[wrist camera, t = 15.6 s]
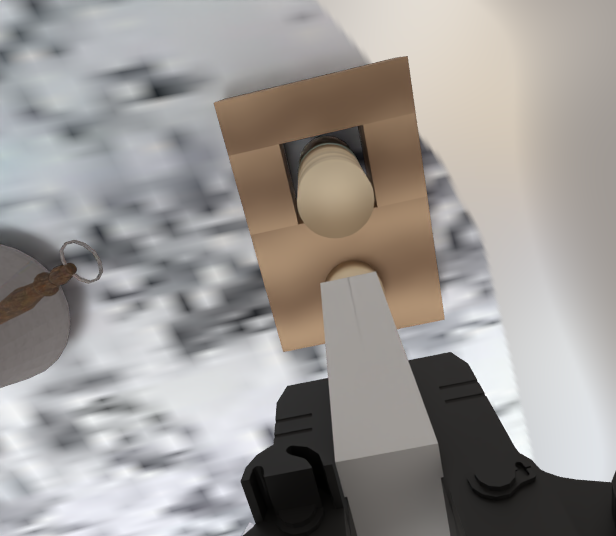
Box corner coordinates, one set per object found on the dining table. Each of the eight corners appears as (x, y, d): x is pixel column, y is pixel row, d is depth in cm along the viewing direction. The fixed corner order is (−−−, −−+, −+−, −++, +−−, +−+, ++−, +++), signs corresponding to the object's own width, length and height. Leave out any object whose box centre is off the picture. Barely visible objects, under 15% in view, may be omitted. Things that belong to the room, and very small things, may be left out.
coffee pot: (12, 383, 43) (-128, 535, 29) (-96, 280, 39) (-315, 396, 25) (212, 252, 39) (160, 355, 25) (111, 123, 35) (-16, 159, 21)
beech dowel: (292, 142, 36) (288, 171, 26) (349, 129, 35) (367, 153, 25) (305, 197, 37) (305, 246, 27) (359, 185, 37) (381, 230, 27)
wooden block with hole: (223, 99, 35) (207, 104, 29) (396, 57, 34) (414, 55, 28) (285, 326, 41) (282, 366, 36) (431, 296, 40) (452, 332, 35)
